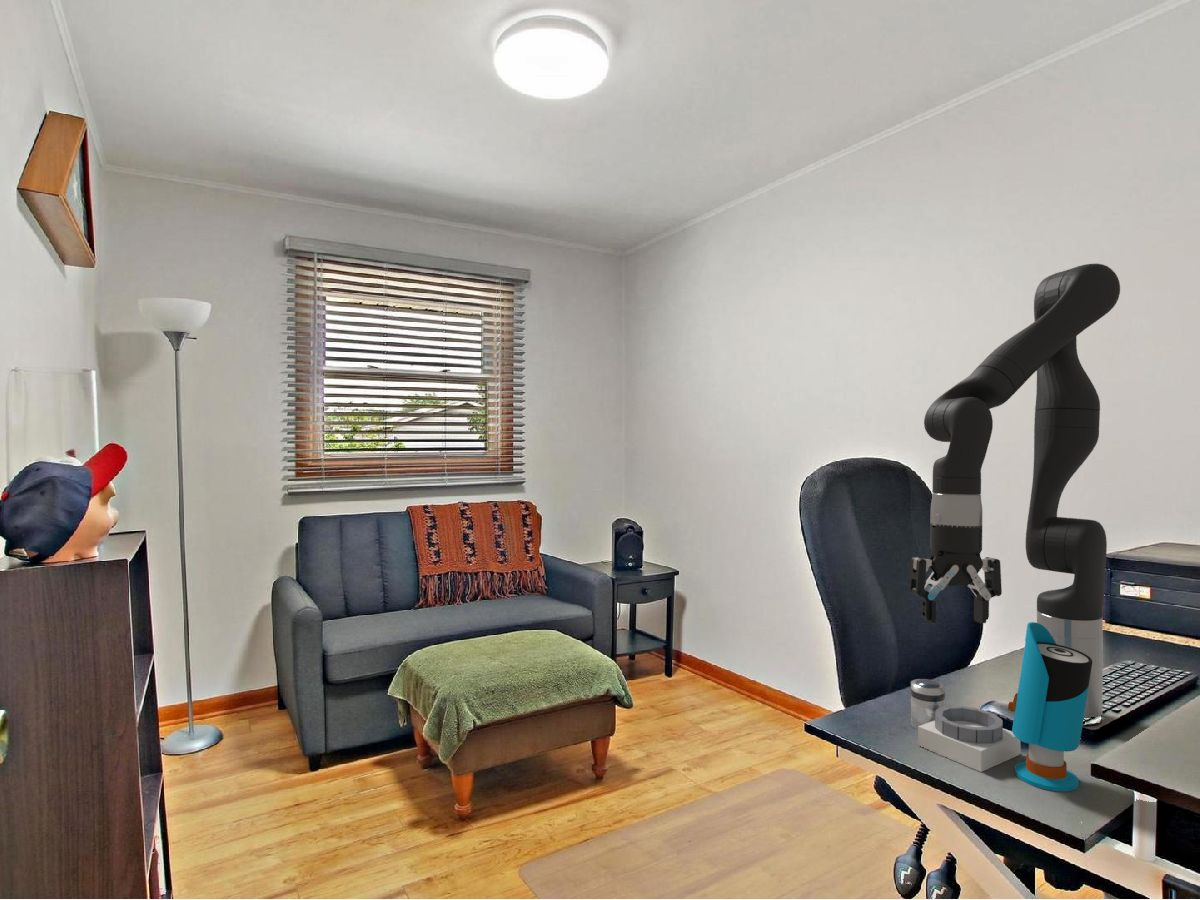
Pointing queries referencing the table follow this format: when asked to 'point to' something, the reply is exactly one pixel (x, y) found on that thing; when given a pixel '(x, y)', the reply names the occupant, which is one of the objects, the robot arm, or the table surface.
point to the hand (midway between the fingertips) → (954, 622)
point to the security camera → (1049, 708)
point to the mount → (969, 737)
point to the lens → (925, 700)
